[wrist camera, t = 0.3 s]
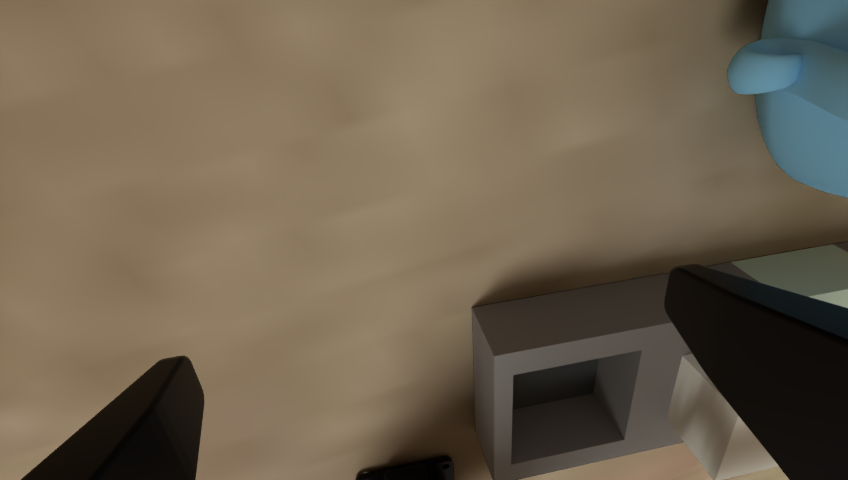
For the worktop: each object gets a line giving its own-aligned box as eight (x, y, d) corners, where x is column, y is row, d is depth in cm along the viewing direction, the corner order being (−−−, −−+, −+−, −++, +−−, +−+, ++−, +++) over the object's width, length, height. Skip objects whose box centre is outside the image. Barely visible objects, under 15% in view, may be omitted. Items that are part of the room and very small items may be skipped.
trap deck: (914, 337, 35) (978, 375, 32) (475, 429, 31) (494, 484, 28) (980, 218, 31) (1064, 247, 27) (471, 307, 26) (494, 356, 23)
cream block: (742, 403, 28) (800, 460, 25) (666, 419, 28) (714, 481, 24) (765, 339, 26) (833, 393, 23) (682, 355, 25) (739, 413, 22)
